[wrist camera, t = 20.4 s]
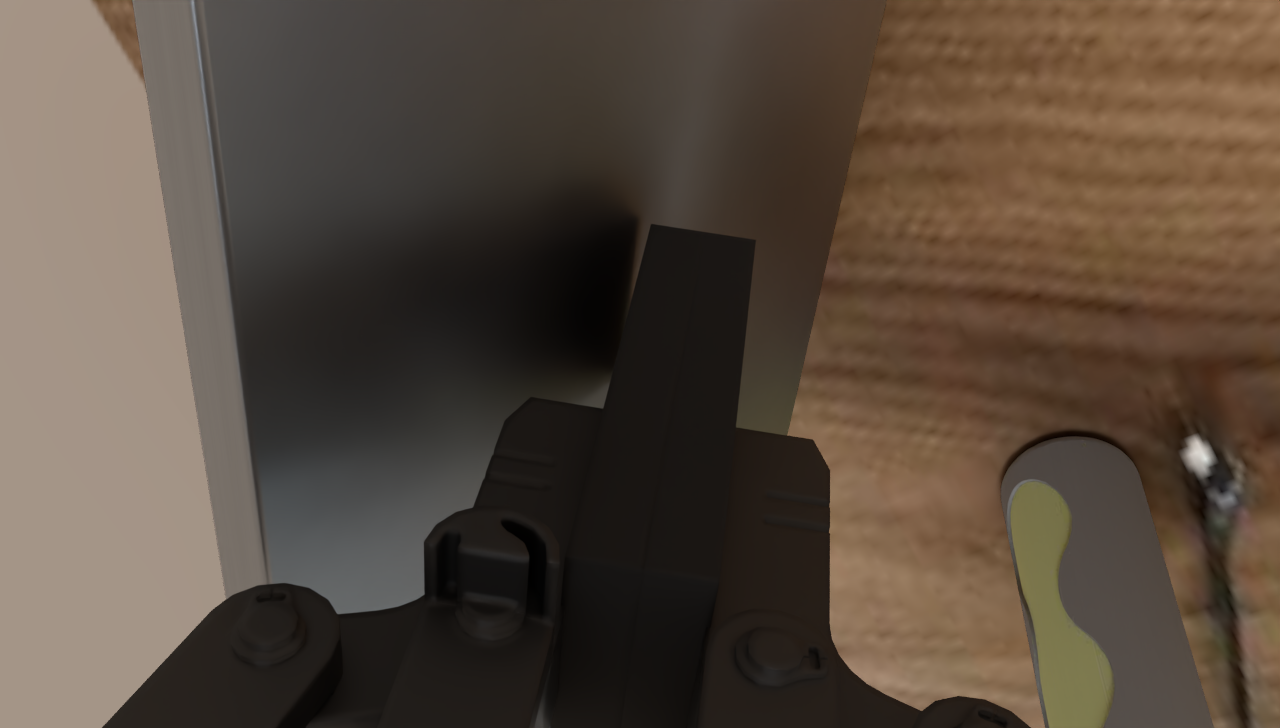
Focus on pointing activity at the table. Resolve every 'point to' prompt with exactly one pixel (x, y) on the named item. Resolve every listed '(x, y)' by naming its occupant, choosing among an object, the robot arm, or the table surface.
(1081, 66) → the table surface
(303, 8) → the lid
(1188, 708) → the spray bottle
